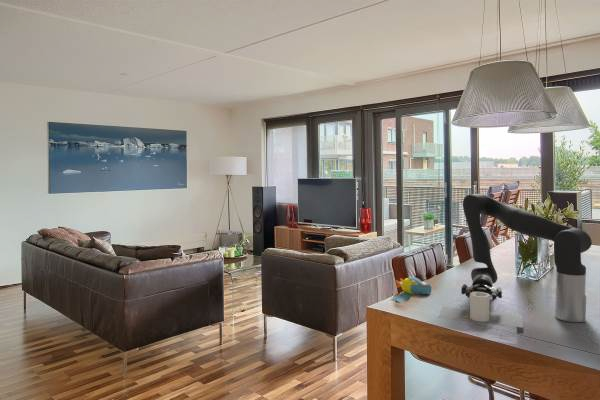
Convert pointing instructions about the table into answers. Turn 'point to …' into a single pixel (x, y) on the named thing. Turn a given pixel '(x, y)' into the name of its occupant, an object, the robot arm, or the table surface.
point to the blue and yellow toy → (411, 288)
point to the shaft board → (494, 318)
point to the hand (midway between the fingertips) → (480, 296)
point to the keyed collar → (479, 306)
